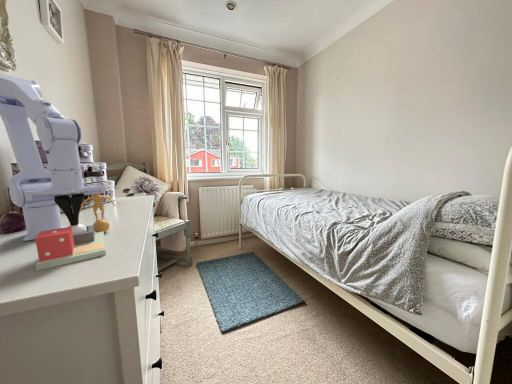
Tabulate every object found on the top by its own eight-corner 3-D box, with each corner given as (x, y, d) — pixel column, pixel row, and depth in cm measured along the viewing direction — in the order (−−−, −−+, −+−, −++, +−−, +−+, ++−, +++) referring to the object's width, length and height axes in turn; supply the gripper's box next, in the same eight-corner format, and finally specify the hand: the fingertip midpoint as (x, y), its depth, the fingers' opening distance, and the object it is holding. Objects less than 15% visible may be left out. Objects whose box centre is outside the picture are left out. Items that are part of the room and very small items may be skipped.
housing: (60, 239, 53) (59, 230, 53) (94, 233, 57) (93, 225, 57) (56, 248, 48) (54, 238, 47) (94, 241, 52) (93, 231, 51)
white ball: (66, 239, 53) (63, 223, 52) (88, 235, 56) (86, 220, 55) (64, 245, 49) (61, 227, 49) (88, 240, 52) (85, 224, 51)
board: (50, 245, 53) (50, 240, 52) (104, 235, 59) (103, 230, 59) (36, 270, 40) (35, 264, 40) (105, 254, 47) (105, 249, 47)
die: (44, 252, 45) (40, 230, 44) (74, 246, 48) (71, 225, 47) (39, 262, 41) (34, 237, 40) (72, 255, 44) (68, 231, 43)
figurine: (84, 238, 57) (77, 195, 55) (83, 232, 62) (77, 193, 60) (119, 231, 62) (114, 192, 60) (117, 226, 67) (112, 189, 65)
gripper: (15, 172, 42) (28, 235, 44) (103, 169, 51) (110, 222, 53) (25, 171, 48) (36, 227, 50) (102, 168, 56) (109, 216, 58)
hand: (74, 224), depth 52 cm, fingers closed, pressing on white ball
